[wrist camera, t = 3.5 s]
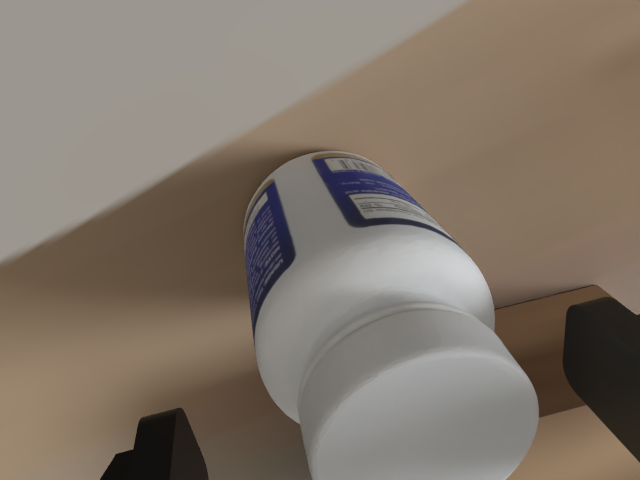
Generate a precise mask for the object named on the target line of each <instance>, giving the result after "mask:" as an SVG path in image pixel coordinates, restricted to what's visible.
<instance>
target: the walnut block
mask: <svg viewBox="0 0 640 480" xmlns="http://www.w3.org/2000/svg"><path fill="white" fill-rule="evenodd" d="M601 297H611V298H613V297H612V296H611V295H609V294H608V293H607V292H605V291H604V290H603V289H601V288H600V287H599V286H598V285H594V286H590V287H586V288H582V289H578V290H574V291H570V292H565V293H561V294H557V295H553V296H549V297H545V298H541V299H537V300H533V301H529V302H525V303H521V304H517V305H513V306H509V307H504V308H500V309H496V310H494V312H495V328H494V333H495V334H496V335H497V336H498V337H499V339H500V340H501V341H502V343H503V344H504V346H505V347H506V348H507V350H508V351H509V353H510V354H511V355H512V357H513V358H514V359H515V360H516V362H517V363H518V364H519V366H520V367H521V368H522V370H523V371H524V372H525V373H526V375H527V376H528V378H529V380H530V381H531V383H532V385H533V387H534V390H535V392H536V395H537V399H538V406H539V421H538V427H537V431H536V434H535V438H534V440H533V442H532V444H531V447H530V449H529V450H528V452H527V454H526V456H525V457H524V458H523V460H522V461H521V462H520V464H519V465H518V466H517V468H516V469H515V470H514V471H513V472H512V473H511V475H510V476H509V477H508V478H507V479H506V480H640V462H639V461H638V460H637V459H636V458H635V457H634V456H633V455H632V454H631V453H630V452H629V451H628V449H627V448H626V447H625V446H624V445H623V444H622V443H621V442H620V441H619V440H618V439H617V437H616V436H615V435H614V434H613V433H612V432H611V431H610V430H609V429H608V428H607V427H606V425H605V424H604V423H603V422H602V421H601V420H600V419H599V418H598V417H597V416H596V415H595V413H594V412H593V411H592V410H591V409H590V408H589V407H588V406H587V405H586V404H585V403H584V402H583V400H582V399H581V398H580V397H579V396H578V395H577V394H576V393H575V392H574V390H573V389H572V388H571V386H570V384H569V383H568V380H567V378H566V376H565V373H564V369H563V349H564V336H565V323H566V313H567V310H568V308H569V307H570V306H572V305H575V304H579V303H582V302H586V301H590V300H594V299H598V298H601ZM613 299H614V298H613ZM615 300H616V299H615ZM619 303H620V302H619Z"/></svg>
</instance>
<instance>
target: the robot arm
mask: <svg viewBox="0 0 640 480" xmlns="http://www.w3.org/2000/svg"><path fill="white" fill-rule="evenodd" d="M563 369H564V373H565V376H566V378H567V380H568V383H569V384H570V386H571V388H572V389H573V390H574V392H575V393H576V394H577V395H578V396H579V397H580V398H581V399H582V400H583V402H584V403H585V404H586V405H587V406H588V407H589V408H590V409H591V410H592V411H593V412H594V413H595V415H596V416H597V417H598V418H599V419H600V420H601V421H602V422H603V423H604V424H605V425H606V427H607V428H608V429H609V430H610V431H611V432H612V433H613V434H614V435H615V436H616V437H617V439H618V440H619V441H620V442H621V443H622V444H623V445H624V446H625V447H626V448H627V449H628V451H629V452H630V453H631V454H632V455H633V456H634V457H635V458H636V459H637V460H638V461H639V462H640V314H639V315H635V314H634V313H633V312H631V311H630V310H629V309H627V308H626V307H625V306H623V305H622V304H621V303H619V302H618V301H617V300H615V299H613V298H611V297H601V298H598V299H594V300H590V301H586V302H582V303H579V304H575V305H572V306H570V307H569V308H568V310H567V313H566V323H565V336H564V349H563ZM100 480H209V479H208V473H207V468H206V464H205V461H204V458H203V456H202V453H201V451H200V448H199V446H198V443H197V441H196V438H195V436H194V434H193V431H192V429H191V426H190V424H189V421H188V419H187V417H186V414H185V412H184V410H183V409H182V408H176V409H173V410H169V411H165V412H161V413H157V414H154V415H150V416H146V417H142V418H141V419H140V421H139V423H138V428H137V433H136V438H135V444H134V449H133V450H129V451H125V452H122V453H118V454H116V455H115V457H114V458H113V460H112V462H111V463H110V465H109V466H108V468H107V469H106V471H105V473H104V474H103V476H102V477H101V479H100Z"/></svg>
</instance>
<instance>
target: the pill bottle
mask: <svg viewBox="0 0 640 480" xmlns="http://www.w3.org/2000/svg"><path fill="white" fill-rule="evenodd" d="M243 241H244V253H245V261H246V271H247V280H248V290H249V300H250V310H251V319H252V329H253V338H254V346H255V352H256V359H257V364H258V368H259V372H260V375H261V378H262V380H263V383H264V385H265V387H266V389H267V391H268V393H269V395H270V396H271V398H272V399H273V400H274V402H275V403H276V404H277V406H278V407H279V408H280V409H281V410H282V411H283V412H284V413H285V414H286V415H287V416H288V417H290V418H291V419H293V420H294V421H295V422H297V423H298V424H300V426H301V431H302V437H303V442H304V447H305V452H306V456H307V461H308V466H309V470H310V474H311V477H312V480H506V479H507V478H508V477H509V476H510V475H511V473H512V472H513V471H514V470H515V469H516V468H517V466H518V465H519V464H520V462H521V461H522V460H523V458H524V457H525V456H526V454H527V452H528V450H529V449H530V447H531V444H532V442H533V440H534V438H535V434H536V431H537V427H538V421H539V406H538V399H537V395H536V392H535V390H534V387H533V385H532V383H531V381H530V380H529V378H528V376H527V375H526V373H525V372H524V371H523V370H522V368H521V367H520V366H519V364H518V363H517V362H516V360H515V359H514V358H513V357H512V355H511V354H510V353H509V351H508V350H507V348H506V347H505V346H504V344H503V343H502V341H501V340H500V339H499V337H498V336H497V335H496V334H495V333H494V328H495V312H494V304H493V299H492V296H491V293H490V289H489V287H488V285H487V283H486V280H485V279H484V277H483V275H482V273H481V272H480V270H479V269H478V267H477V266H476V264H475V263H474V262H473V261H472V259H471V258H470V257H469V256H468V255H467V253H466V252H465V251H464V250H463V249H462V248H461V247H460V246H459V245H458V244H457V243H456V242H455V241H454V240H453V239H452V237H451V236H450V235H449V234H448V233H447V232H446V231H445V230H444V229H443V228H442V227H441V226H440V225H439V224H438V223H437V222H436V221H435V220H434V219H433V218H432V217H431V216H430V215H429V214H428V213H427V212H426V211H425V210H424V209H423V208H422V207H421V206H420V205H419V204H418V203H417V202H416V201H415V200H414V199H413V198H412V197H411V196H410V195H409V194H408V193H407V192H406V190H405V189H404V188H403V187H402V186H401V185H400V184H399V183H398V182H397V181H395V179H394V178H393V177H392V176H391V175H390V174H388V173H387V172H386V171H385V170H384V169H382V168H381V167H380V166H379V165H377V164H376V163H374V162H372V161H371V160H369V159H367V158H364V157H362V156H359V155H356V154H353V153H349V152H343V151H321V152H315V153H310V154H307V155H303V156H300V157H297V158H295V159H293V160H290V161H288V162H287V163H285V164H283V165H282V166H280V167H279V168H278V169H276V170H275V171H274V172H273V173H271V174H270V175H269V176H268V177H267V178H266V179H265V180H264V181H263V182H262V184H261V185H260V186H259V188H258V189H257V191H256V192H255V194H254V195H253V197H252V199H251V201H250V204H249V206H248V209H247V212H246V215H245V220H244V227H243Z"/></svg>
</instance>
